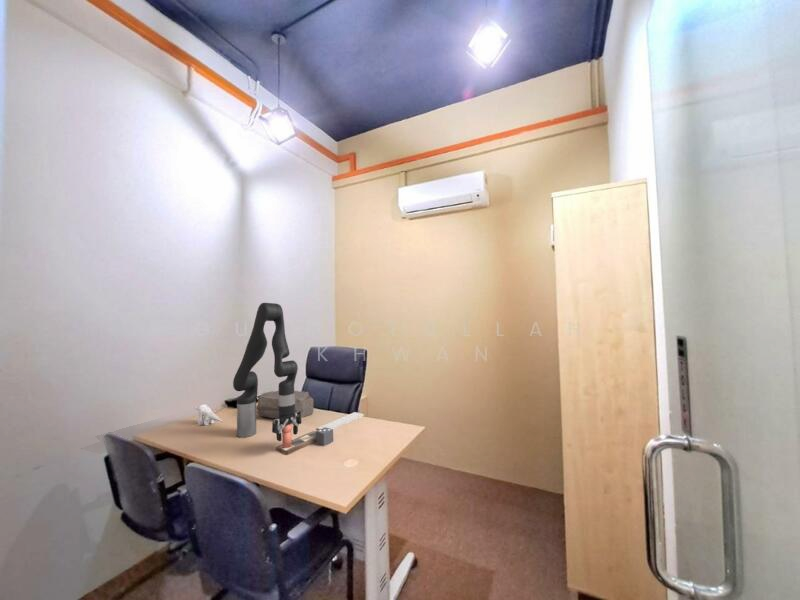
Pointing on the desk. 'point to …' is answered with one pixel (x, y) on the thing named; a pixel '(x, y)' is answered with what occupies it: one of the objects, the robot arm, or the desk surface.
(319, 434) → the die
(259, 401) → the stone
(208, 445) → the desk surface
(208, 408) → the white dinosaur figurine
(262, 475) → the desk surface
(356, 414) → the baseboard
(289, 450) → the game strip
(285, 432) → the pawn
